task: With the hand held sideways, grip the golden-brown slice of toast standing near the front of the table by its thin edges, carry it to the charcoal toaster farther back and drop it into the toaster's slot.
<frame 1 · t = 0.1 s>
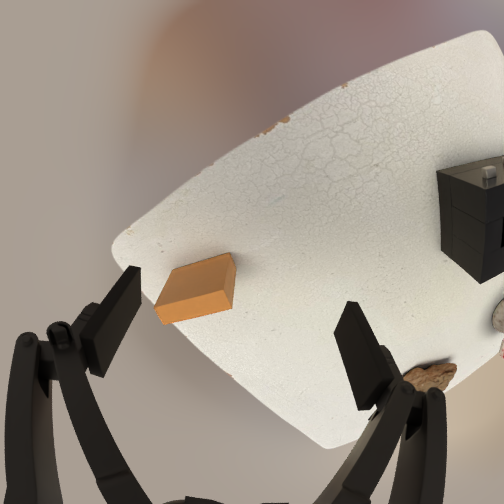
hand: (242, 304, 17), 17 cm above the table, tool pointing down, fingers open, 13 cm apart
toast: (203, 269, 35), on the table
toaster: (480, 199, 31), on the table
rock: (419, 376, 47), on the table
decorative mushroom: (501, 309, 40), on the table
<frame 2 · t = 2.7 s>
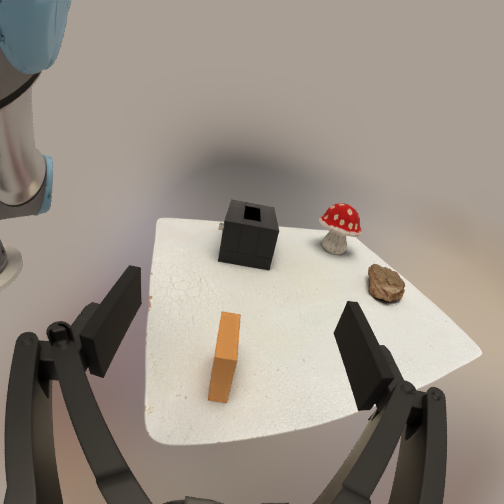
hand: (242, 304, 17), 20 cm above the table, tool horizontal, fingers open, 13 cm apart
toast: (220, 378, 35), on the table
toaster: (245, 249, 73), on the table
rock: (383, 293, 65), on the table
decorative mushroom: (332, 250, 85), on the table
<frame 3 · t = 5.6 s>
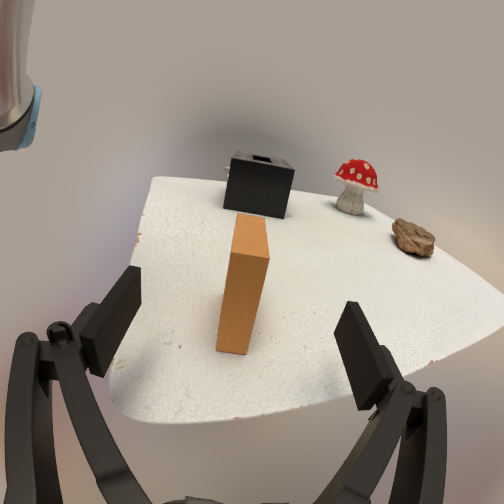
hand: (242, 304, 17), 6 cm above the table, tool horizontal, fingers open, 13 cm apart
toast: (233, 321, 24), on the table
toaster: (253, 201, 63), on the table
rock: (411, 249, 55), on the table
decorative mushroom: (348, 211, 75), on the table
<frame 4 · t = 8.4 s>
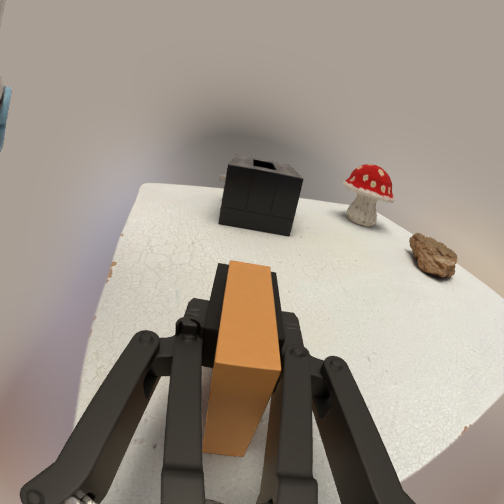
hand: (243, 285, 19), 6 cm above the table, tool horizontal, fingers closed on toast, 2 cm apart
toast: (226, 403, 16), on the table, touching gripper
toaster: (254, 214, 55), on the table
rock: (431, 269, 47), on the table
decorative mushroom: (359, 222, 67), on the table
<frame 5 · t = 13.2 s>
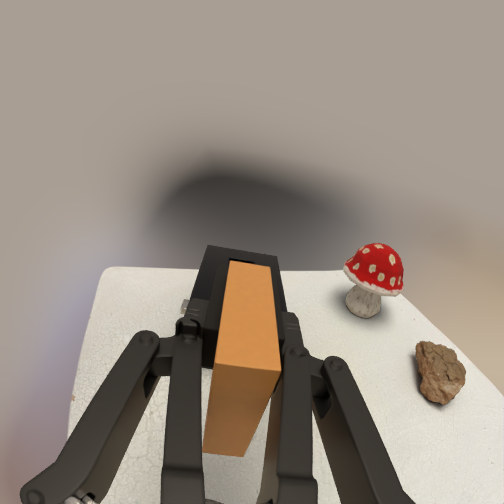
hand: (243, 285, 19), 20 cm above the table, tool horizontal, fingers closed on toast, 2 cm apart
toast: (226, 403, 16), point 14 cm above the table, touching gripper
toaster: (230, 329, 44), on the table
rock: (434, 383, 37), on the table
decorative mushroom: (359, 310, 56), on the table
when the fingers open (13 cm above the table, at t = 18.4 s): toast drops 4 cm, resting on toaster.
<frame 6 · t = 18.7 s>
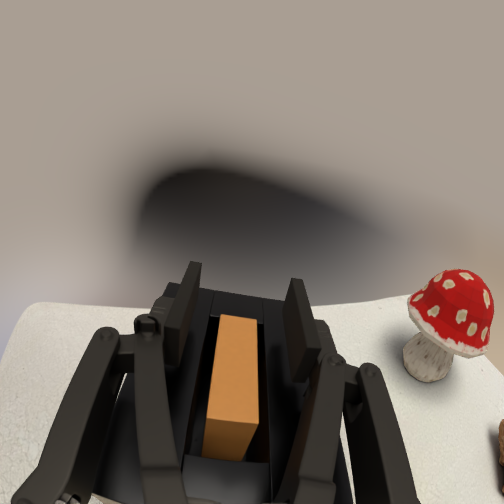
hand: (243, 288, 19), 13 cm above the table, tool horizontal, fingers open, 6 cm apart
toast: (220, 429, 18), point 3 cm above the table, touching toaster
toaster: (216, 444, 19), on the table
decorative mushroom: (420, 368, 31), on the table
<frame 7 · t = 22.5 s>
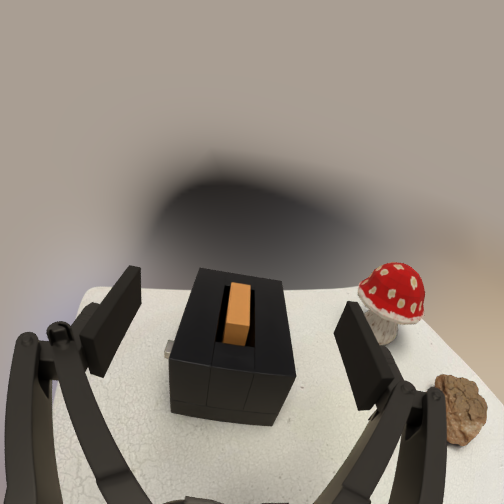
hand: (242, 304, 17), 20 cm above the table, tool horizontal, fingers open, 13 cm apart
toast: (229, 353, 35), point 3 cm above the table, touching toaster
toaster: (226, 367, 36), on the table
rock: (453, 420, 29), on the table
decorative mushroom: (373, 335, 48), on the table
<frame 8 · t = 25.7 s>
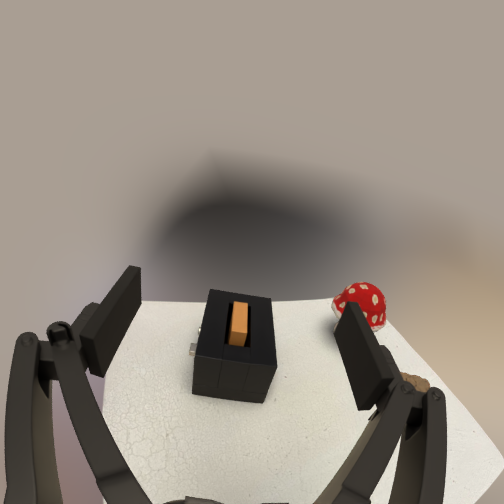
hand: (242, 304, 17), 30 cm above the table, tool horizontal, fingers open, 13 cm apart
toast: (232, 351, 49), point 3 cm above the table, touching toaster
toaster: (230, 362, 50), on the table
rock: (407, 409, 43), on the table
decorative mushroom: (346, 339, 62), on the table
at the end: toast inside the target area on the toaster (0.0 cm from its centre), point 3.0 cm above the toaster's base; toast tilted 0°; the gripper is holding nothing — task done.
